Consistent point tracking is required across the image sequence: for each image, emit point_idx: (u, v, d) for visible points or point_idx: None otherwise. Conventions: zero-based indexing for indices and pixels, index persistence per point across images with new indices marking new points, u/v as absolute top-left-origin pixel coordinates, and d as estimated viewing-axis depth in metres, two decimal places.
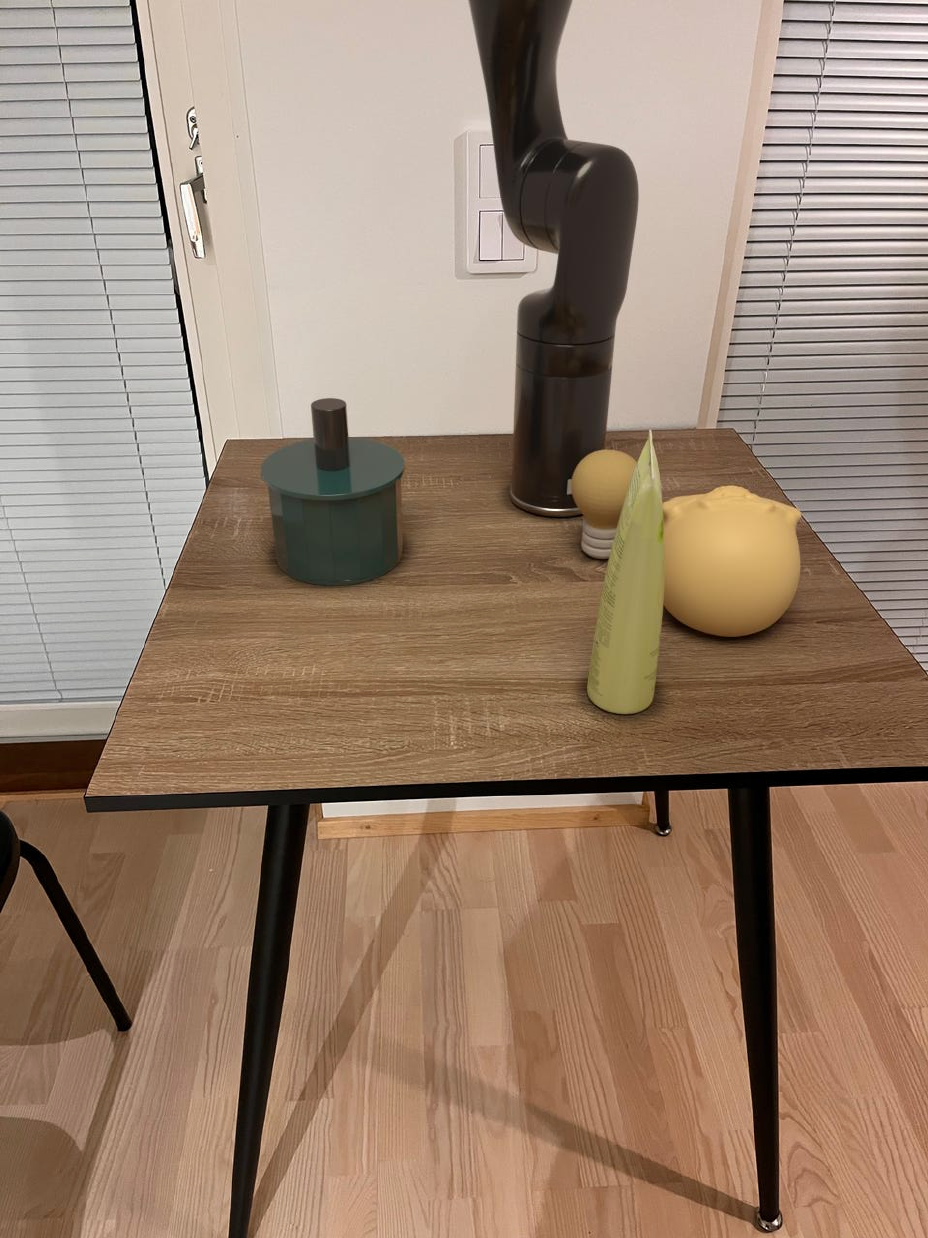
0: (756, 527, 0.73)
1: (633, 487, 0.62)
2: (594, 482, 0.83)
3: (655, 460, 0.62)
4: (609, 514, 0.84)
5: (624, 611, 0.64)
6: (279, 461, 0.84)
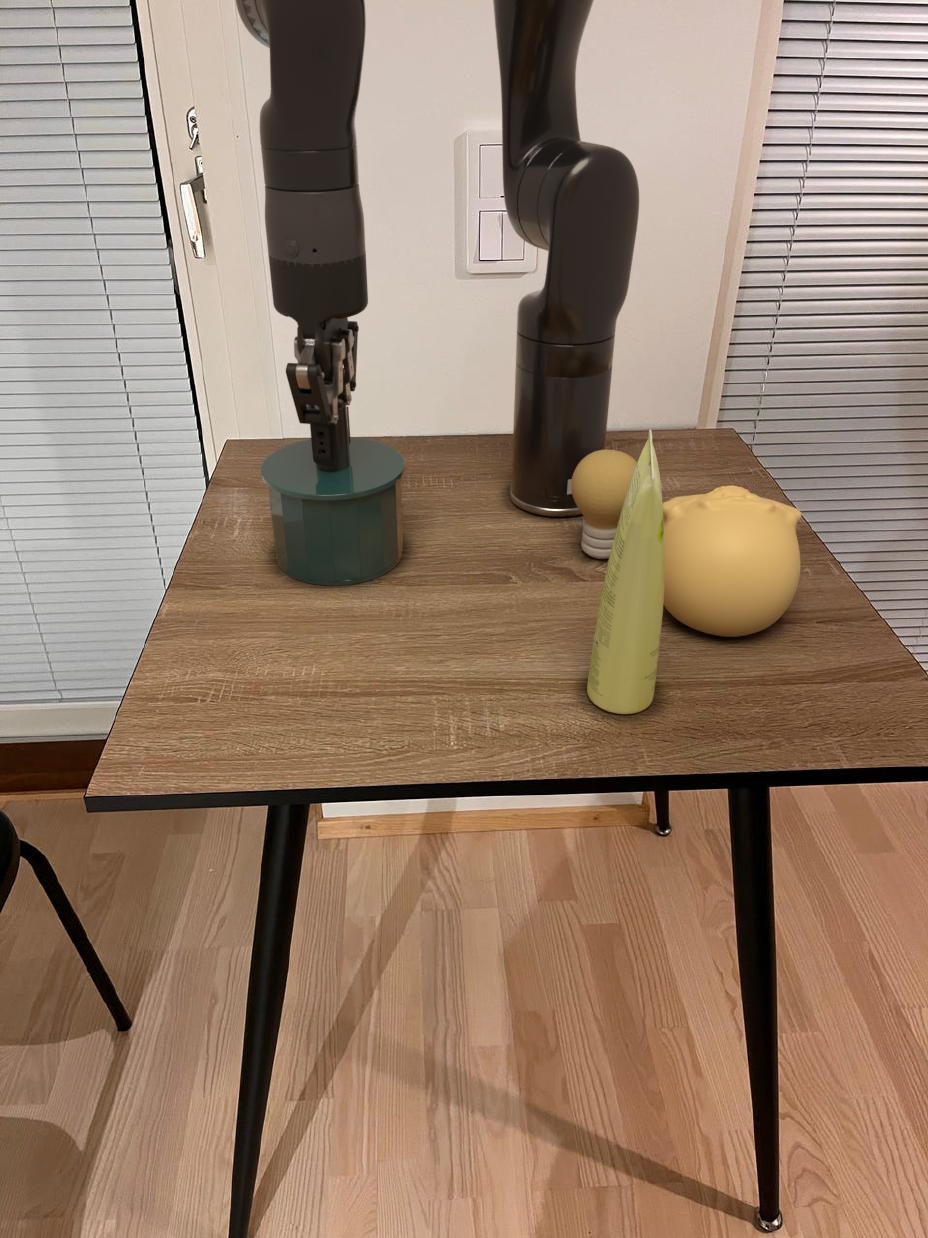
0: (756, 527, 0.73)
1: (633, 487, 0.62)
2: (594, 482, 0.83)
3: (655, 460, 0.62)
4: (609, 514, 0.84)
5: (624, 611, 0.64)
6: (279, 461, 0.84)
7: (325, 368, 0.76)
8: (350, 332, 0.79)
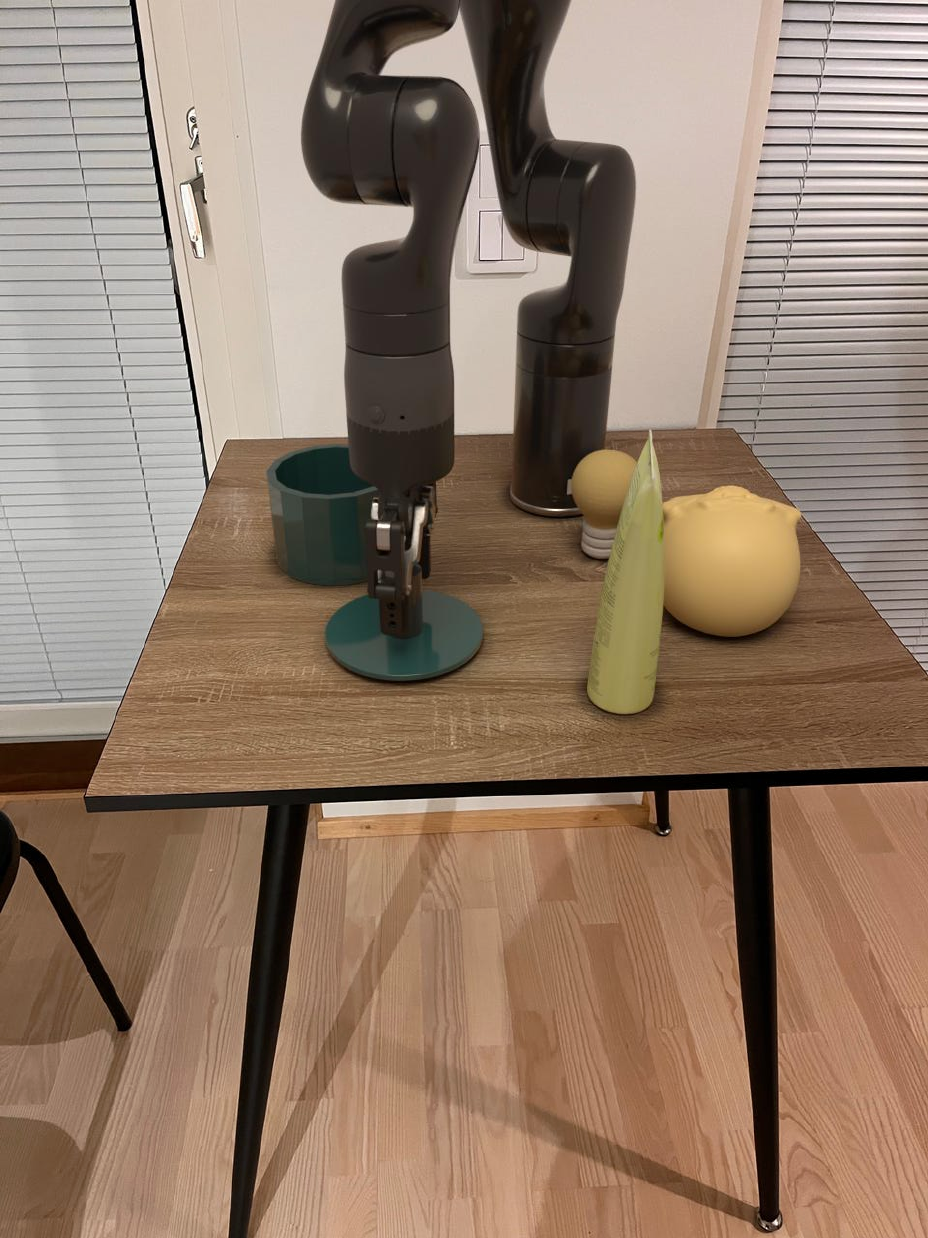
0: (756, 527, 0.73)
1: (633, 487, 0.62)
2: (594, 482, 0.83)
3: (655, 460, 0.62)
4: (609, 514, 0.84)
5: (624, 611, 0.64)
6: (344, 624, 0.77)
7: (407, 535, 0.68)
8: (432, 491, 0.71)
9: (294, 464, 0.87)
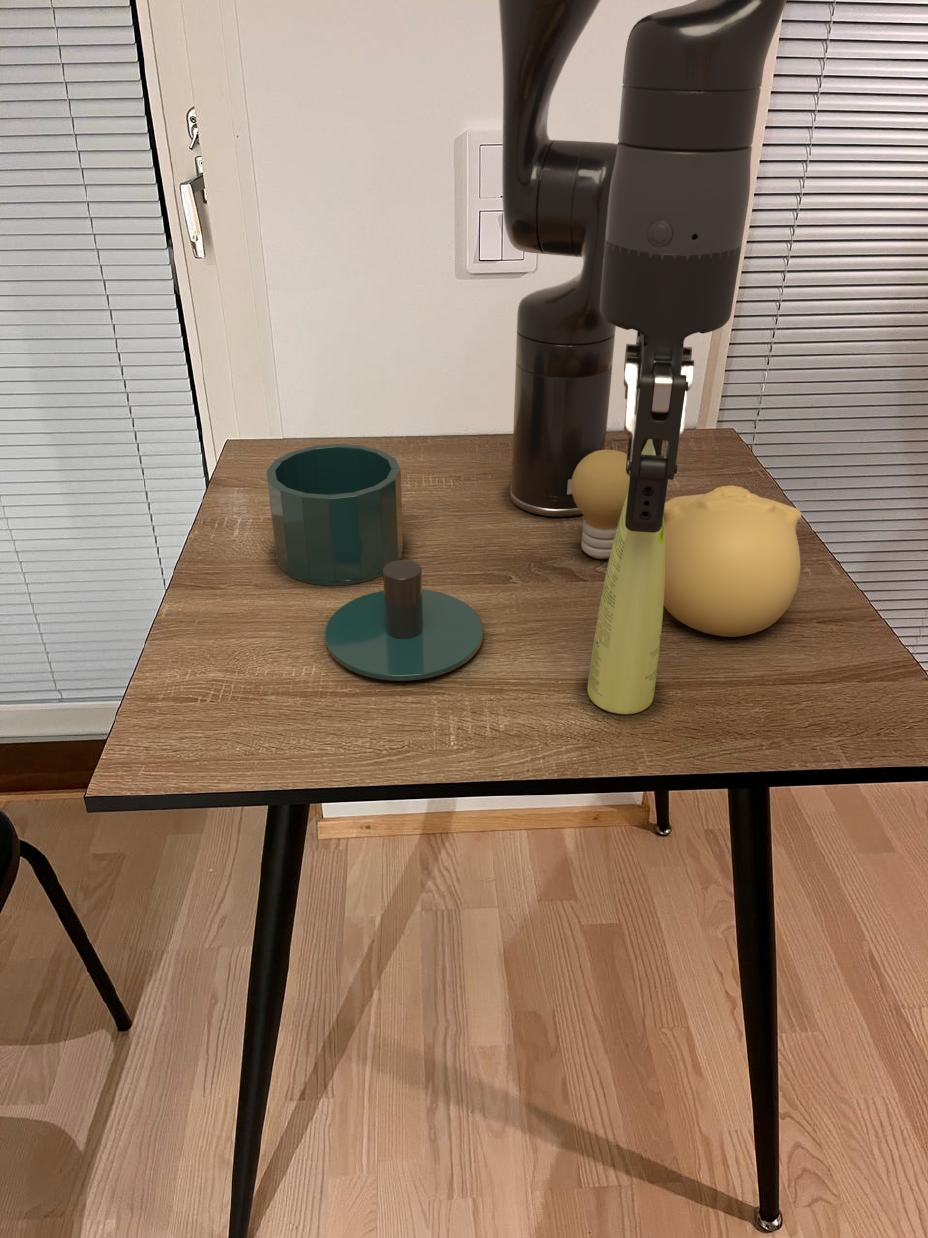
0: (756, 527, 0.73)
1: None
2: (594, 482, 0.83)
3: None
4: (609, 514, 0.84)
5: (624, 611, 0.64)
6: (344, 624, 0.77)
7: None
8: None
9: (294, 464, 0.87)
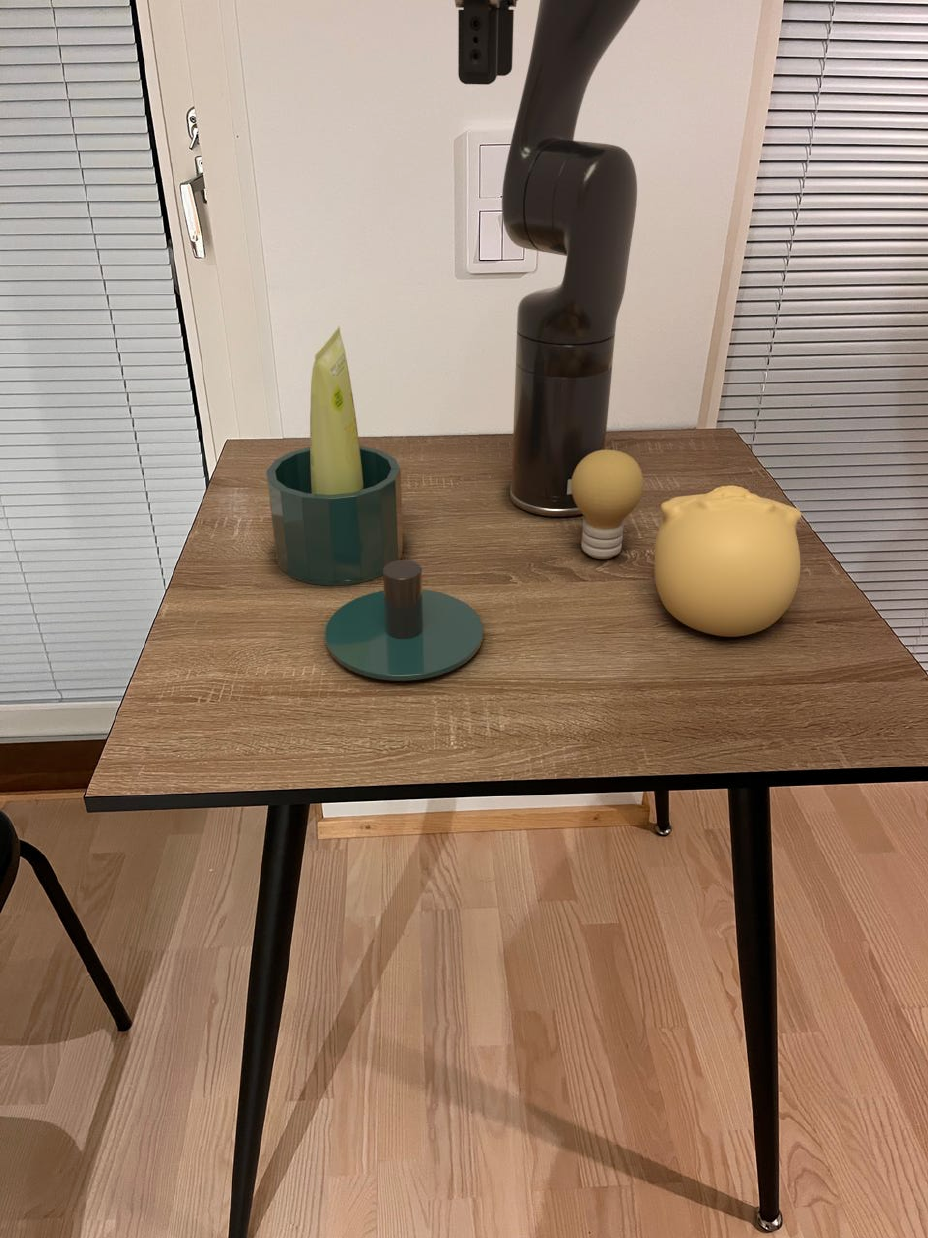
0: (756, 527, 0.73)
1: None
2: (594, 482, 0.83)
3: (338, 348, 0.80)
4: (609, 514, 0.84)
5: (320, 468, 0.82)
6: (344, 624, 0.77)
7: None
8: None
9: (294, 464, 0.87)
